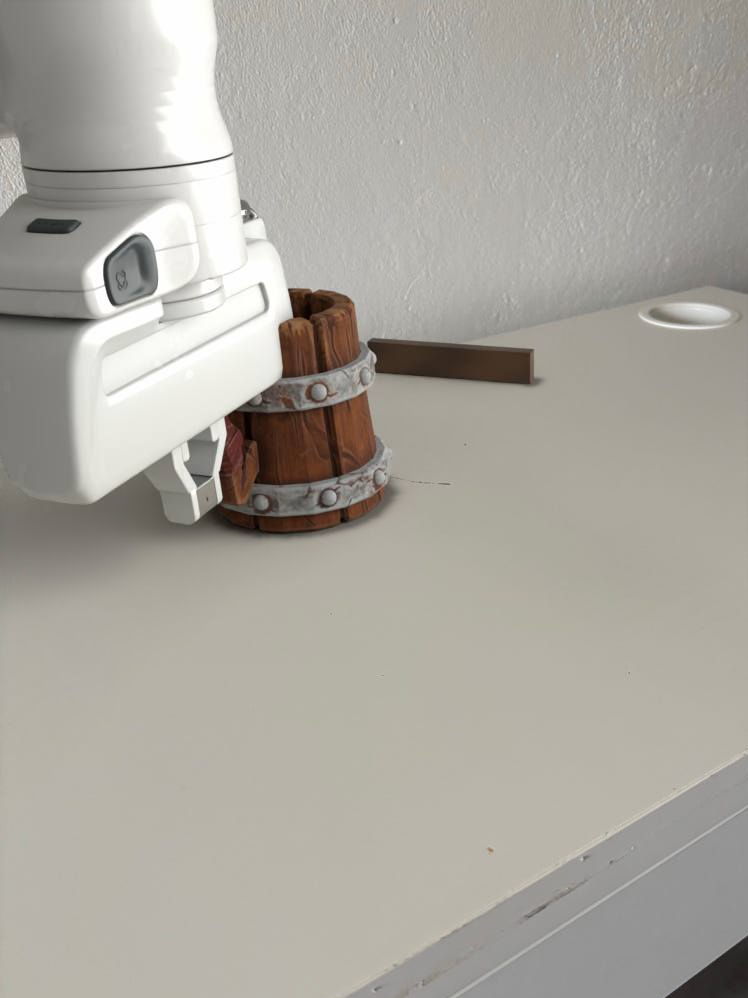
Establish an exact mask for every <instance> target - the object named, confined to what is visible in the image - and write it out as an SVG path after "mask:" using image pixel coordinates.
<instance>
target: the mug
mask: <svg viewBox="0 0 748 998" xmlns="http://www.w3.org/2000/svg"><path fill="white" fill-rule="evenodd" d="M287 288H288V287H287ZM288 292H289V297H290V302H291V308H292V313H293V318H292V319H288V320H286V321H284V322H282V323H280V324H279V328H278V331H279V340H280V348H281V357H282V365H283V370H282V377H281V379H279V380H278V381H276V382H275V383H274V384H273V385H272V386H270V387H269V388H267V389H266V390H264V391H263V392H261V393H260V394H258V395H257V396H255V397H254V398H252V399H250V400H249V401H247V402H246V403H244V404H243V405H241V406H240V407H238V408H237V409H235V410H234V411H232V412H231V413H229V414H228V415H226V416H225V417H224V420H225V426H226V432H227V436H226V441H225V446H224V451H223V457H222V462H221V467H220V471H219V478H220V485H221V491H222V497H223V498H222V501H221V502H220V503H218V504H217V505H216V509H217V513H219V514H220V515H221V516H223V517H224V518H226V519H227V520H228V521H230V522H231V523H232V524H234V525H237V526H240V527H244V528H248V529H251V530H253V529H255V528H257V526H259V530H260V531H262V532H275V533H296V532H297V533H298V532H309V531H318V530H322V529H327V528H331V527H335V526H339V525H340V524H341V518H342V519H343V520H344V521H346V522H351V521H353V520H355V519H358V518H360V517H362V516H365V515H367V514H368V513H369V512H371V511H372V510H373V509H374V508H375V507H376V506H377V505H378V504H380V503H381V502H382V501H383V498H384V495H385V491H386V487H385V486H386V485H387V484H388V483H389V479H390V476H391V473H392V464H391V459H392V458H393V455H394V454H393V450H392V449H391V448H390V447H389V446H386V444H385V442H384V441H383V440H382V438H381V437H379V436H378V435H376V434H375V431H374V425H373V420H372V415H371V410H370V404H369V397H368V392H367V390H368V389H370V388H371V387H372V386H373V383H374V381H375V379H376V376H377V372H375V366H374V364H375V363H376V355H375V354H374V353H373V352H372V351H371V350H370V349H369V348H368V347H367V343H365V342H364V341H360V336H359V329H358V328H359V327H358V321H357V314H356V306H355V302H354V301H353V300H352V298H350V297H349V296H348V295H346V294H344V293H339V292H337V291H334V290H326V289H321V288H320V289H317V290H315V291H313V290H312V289H311V288H303V287H302V288H299V287H298V288H297V287H289V288H288Z"/></svg>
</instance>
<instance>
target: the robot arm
mask: <svg viewBox="0 0 748 998" xmlns="http://www.w3.org/2000/svg"><path fill="white" fill-rule="evenodd" d="M215 13H216V12H215V6H214V0H0V140H5V139H12V138H14V139H16V138H17V141H18V145H19V155H20V159H19V160H20V166H21V169H22V174H23V179H24V183H25V187H26V192H27V193H22V194H20V195H19V196H17V197H16V199H14V201H13V202H12V203H11V204H10V206H9V207H8V208H7V209H6V210H5V211H4V213H3V214H2V215H1V216H0V461H1V464H2V466H3V469H4V472H5V474H6V476H7V478H8V479H9V480H10V482H11V483H12V484H13V485H14V486H15V487H17V488H18V489H19V490H20V491H21V492H22V493H24V494H25V495H27V496H28V497H30V498H32V499H35V500H41V501H47V502H55V503H62V504H70V505H71V504H73V505H83V506H85V505H91V504H93V503H96V502H97V501H99V500H101V499H102V498H103V497H105V496H106V495H108V494H109V493H110V492H112V491H114V490H116V489H117V488H118V487H120V486H121V485H123V484H124V483H126V482H127V481H129V480H130V479H132V478H133V477H135V476H136V475H137V476H138V474H139V473H141V472H142V473H143V475H145V477H146V478H147V479H148V480H149V481H150V482H151V483H152V485H153V486H154V487H155V489H156V490H157V491H159V494H160V499H161V504H162V508H163V514H164V516H165V518H166V519H167V521H170V522H171V523H173V524H174V523H175V524H182V525H188V526H191V525H193V524H194V523H196V522H197V521H198V520H200V519H201V518H202V517H203V516H205V515H206V513H208V512H209V511H210V510H212V509H213V508H214V507H217V504H218V503H220V502H221V501H222V498H223V497H222V491H221V485H220V478H219V471H220V467H221V462H222V457H223V451H224V446H225V441H226V436H227V432H226V426H225V420H224V417H225V416H226V415H228V414H229V413H231V412H232V411H234V410H235V409H237V408H238V407H240V406H241V405H243V404H244V403H246V402H247V401H249V400H250V399H252V398H254V397H255V396H257V395H258V394H260V393H261V392H263V391H264V390H266V389H267V388H269V387H270V386H272V385H273V384H274V383H275V382H276V381H278V380H279V379H281V377H282V370H283V365H282V357H281V348H280V340H279V331H278V328H279V324H280V323H282V322H284V321H286V320H288V319H292V318H293V313H292V308H291V302H290V297H289V292H288V283H287V279H286V275H285V271H284V270H285V269H284V267H283V263H282V260H281V257H280V254H279V252H278V250H277V248H276V247H275V245H274V243H272V242H271V241H269V240H268V237H267V230H266V226H265V222H264V220H263V218H262V217H259V215H258V214H257V212H256V210H254V208H252V207H251V206H250V204H249V202H248V201H247V200H245V199H242V198H241V197H240V189H239V181H238V175H237V167H236V161H235V154H234V146H233V142H232V138H231V135H230V132H229V130H228V128H227V125H226V122H225V119H224V118H223V115H222V113H221V109H220V105H219V102H218V101H219V100H218V97H217V92H216V91H217V89H216V78H215V75H216V74H215V72H216V71H215V70H216V58H217V52H218V29H217V28H218V27H217V21H216V20H217V19H216V14H215Z"/></svg>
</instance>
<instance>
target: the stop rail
mask: <svg viewBox="0 0 748 998" xmlns="http://www.w3.org/2000/svg"><path fill="white" fill-rule="evenodd" d="M366 345H367V347H368V348H369V349H370V350H371V351H372V352H373V353H374V354H375V355H376V363H375V364H374V366H375V373H387V374H399V375H411V376H412V375H413V376H427V377H436V378H437V377H438V378H448V379H449V378H450V379H464V380H477V381H489V382H499V383H500V382H502V383H513V384H526V385H530V384H531V383H532V382H533V381H534V380H535V348H527V347H511V346H496V345H483V344H469V343H468V344H466V343H452V342H437V341H423V340H410V339H395V338H394V339H393V338H380V337H371V338H369V340H367V341H366Z"/></svg>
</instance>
